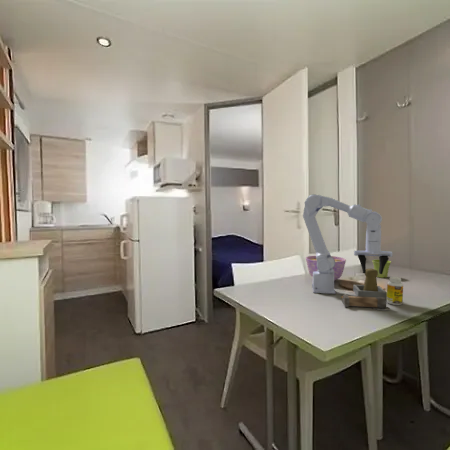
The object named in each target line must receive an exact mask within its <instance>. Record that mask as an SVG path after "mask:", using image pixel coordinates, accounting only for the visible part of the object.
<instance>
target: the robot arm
mask: <svg viewBox="0 0 450 450" xmlns="http://www.w3.org/2000/svg"><path fill="white" fill-rule="evenodd" d="M323 207H325V208H327V207H331V208H334V209H337V210H339V211H342V212H344V213H347V216H348V217H349V218H352V219H354V220H356V221H359V222H362V223H366V230H365V231H366V232H365V250H354V251H353V256H355V257H357V258H358V260H359V263H360V265H361V268H362V273H363V274H365V273H366V269H367V268H366V264H367V257H378V260H379V263H380V266H379V273H380V274H382V273H383V269H384V267H385V265H386V263H387V261H389V259H390V258H393V256H394V255H393V254H394V253H393V251H386V250H385V251H383V250H382V225H381V223H382V221H383V217H382V215H381V214H380V212H377V211H373V209H371V208H369V209H368V208H365V207H363V206H362V205H361V204H359V203H357V204H356V203H355V204H352V205H349V204H347V203H346V202H345V203H344V202H343V201H340V200H338V199H335V198H333V197H329V196H324V195H320V194H314V193H313V194H310V195H308V196H307V198H306V199H305V201H304V208H303V214H302V219H303V220H304V223H305V226H306V229H307V231H308V235H309V237H310V240H311V242H312V243H311V244H312V245H313V248H314V251H315V256H316V260H317V268H318V271H316V272H313V277H312V284H311V288H312V291H313V293H314V294H315V293H317V294H320V293H321V294H332V295H336V294H337V293H336V290H335V280H334V270H333V267H334V266H335V260H334V258H333V257H332V256H333V255H331V253H330V251H329V250H328V248H327V245H326V243H325V240H324V236H323V234H322V232H321V229H320V226H319V223H318V221H317V218H316V216H317V214H318V213H319V211H320V210H321V209H322V208H323Z"/></svg>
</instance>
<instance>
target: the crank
mask: <svg viewBox="0 0 450 450" xmlns="http://www.w3.org/2000/svg"><path fill="white" fill-rule="evenodd" d="M342 296H343V298H342V304H343V306H344V307H345V308H347V307H364V308H365V307H367V308H368V307H369V308H372V307H377V308H381V309H385V308H386V307H387V303H388V302H387V299H386V298H384V297H359V296H357V295H356V296H354V295H348V294H342Z"/></svg>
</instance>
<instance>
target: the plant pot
mask: <svg viewBox="0 0 450 450" xmlns="http://www.w3.org/2000/svg"><path fill="white" fill-rule="evenodd" d="M371 262H372V265H373V269H375V270H377V271H378V275H377V277H376V278H382V279H383V278H388V275H389V270H390V269H389V268H390V265H391V264H392V261H391V260H388V261H387V263H386V265H385V267H384V269H383V273H382V274H380V273H379V266H380V263H379V259H373V260H371Z"/></svg>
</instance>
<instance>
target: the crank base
mask: <svg viewBox="0 0 450 450" xmlns="http://www.w3.org/2000/svg"><path fill="white" fill-rule="evenodd" d="M371 308H372V309H374V310H375V311H376V310H377V311H383V312H385V311H386V312H388V311H390V310H391V308H390V307H388V306H386V308H385V309H381V308H377V307H371Z"/></svg>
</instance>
